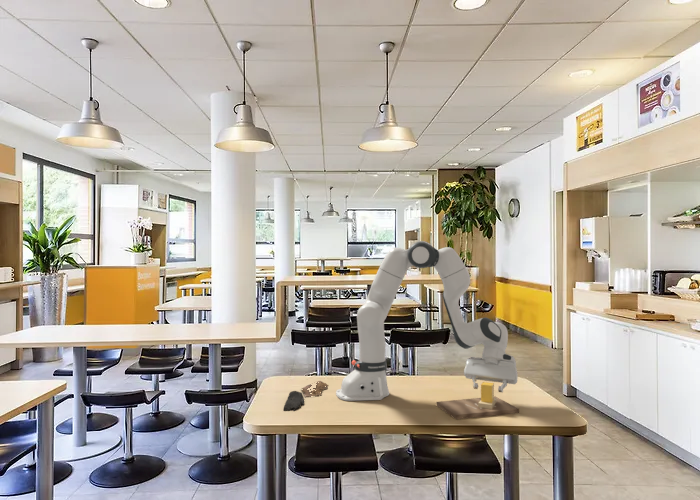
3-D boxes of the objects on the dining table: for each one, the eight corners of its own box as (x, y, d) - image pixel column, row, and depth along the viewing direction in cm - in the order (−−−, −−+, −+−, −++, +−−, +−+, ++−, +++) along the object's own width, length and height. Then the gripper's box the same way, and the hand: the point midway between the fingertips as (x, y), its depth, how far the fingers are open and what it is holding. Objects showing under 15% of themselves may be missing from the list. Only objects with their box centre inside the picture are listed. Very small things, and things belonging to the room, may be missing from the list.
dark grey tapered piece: (302, 412, 186) (302, 404, 186) (282, 412, 186) (282, 404, 186) (308, 395, 208) (308, 388, 208) (290, 395, 208) (290, 388, 208)
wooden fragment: (318, 398, 202) (318, 396, 202) (293, 397, 205) (293, 394, 205) (334, 382, 228) (334, 380, 228) (311, 381, 230) (311, 379, 230)
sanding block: (491, 409, 183) (491, 387, 183) (478, 407, 186) (478, 385, 186) (496, 402, 191) (496, 381, 191) (483, 400, 194) (483, 380, 194)
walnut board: (455, 419, 177) (455, 415, 177) (436, 405, 192) (436, 401, 192) (519, 412, 184) (519, 408, 184) (495, 400, 199) (495, 396, 199)
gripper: (465, 352, 201) (459, 381, 192) (518, 357, 191) (514, 388, 182) (468, 361, 205) (462, 390, 196) (520, 366, 195) (516, 397, 186)
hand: (487, 389), depth 189 cm, fingers open, 8 cm apart
